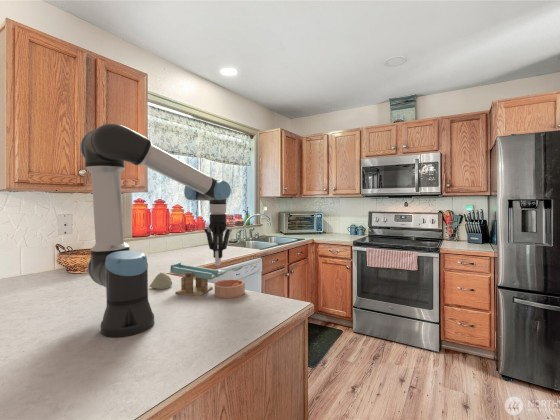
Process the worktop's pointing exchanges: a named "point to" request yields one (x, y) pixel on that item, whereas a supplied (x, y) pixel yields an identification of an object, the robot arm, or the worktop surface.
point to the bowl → (229, 288)
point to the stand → (191, 289)
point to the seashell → (161, 281)
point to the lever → (196, 271)
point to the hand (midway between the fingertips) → (217, 264)
